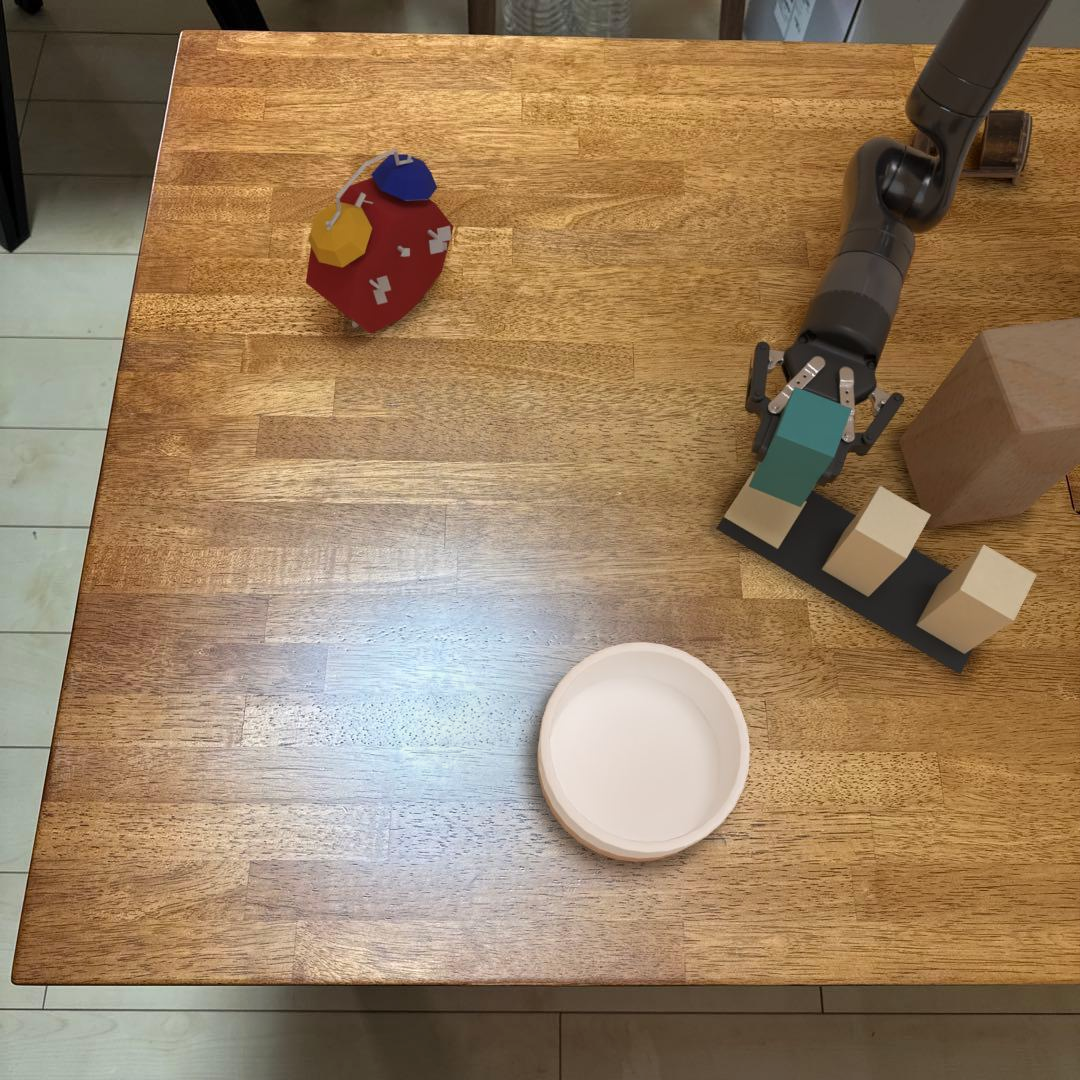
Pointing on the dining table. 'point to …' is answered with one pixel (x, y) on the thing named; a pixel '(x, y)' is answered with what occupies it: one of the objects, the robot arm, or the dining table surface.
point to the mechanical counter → (996, 145)
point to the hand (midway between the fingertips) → (791, 468)
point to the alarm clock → (380, 243)
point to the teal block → (801, 447)
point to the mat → (807, 544)
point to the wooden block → (999, 425)
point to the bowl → (642, 751)
